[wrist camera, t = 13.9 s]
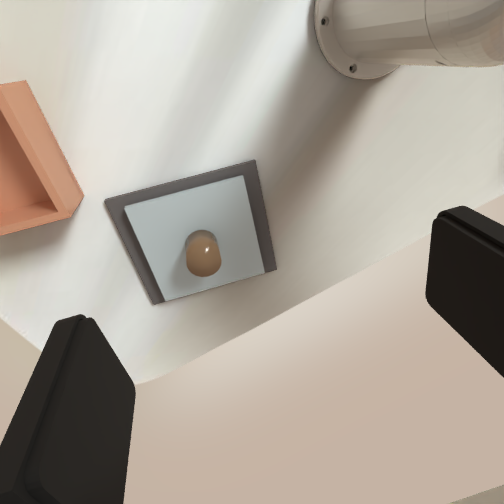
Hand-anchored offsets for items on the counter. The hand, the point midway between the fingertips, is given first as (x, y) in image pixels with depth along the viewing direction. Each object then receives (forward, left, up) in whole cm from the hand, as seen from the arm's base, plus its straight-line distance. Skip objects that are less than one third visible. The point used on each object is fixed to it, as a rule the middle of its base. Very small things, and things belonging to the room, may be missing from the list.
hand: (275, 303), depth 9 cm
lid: (+4, +14, -31) cm, 34 cm away
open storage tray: (+21, -1, -32) cm, 39 cm away
